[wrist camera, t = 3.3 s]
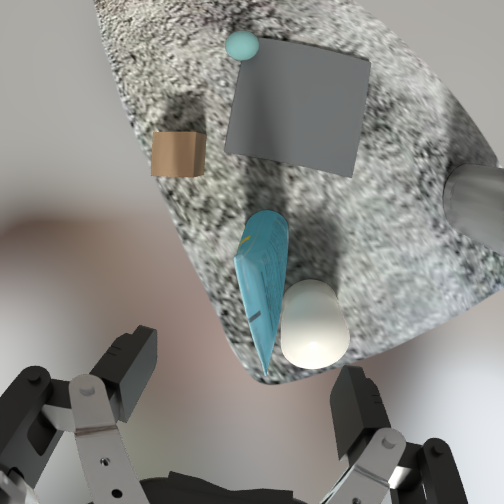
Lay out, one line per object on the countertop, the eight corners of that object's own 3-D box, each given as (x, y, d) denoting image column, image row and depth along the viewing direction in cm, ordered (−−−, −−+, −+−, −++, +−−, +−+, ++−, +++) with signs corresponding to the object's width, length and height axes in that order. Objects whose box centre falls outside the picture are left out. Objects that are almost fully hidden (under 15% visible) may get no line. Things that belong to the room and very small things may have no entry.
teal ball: (262, 39, 26) (260, 27, 22) (256, 66, 27) (254, 56, 24) (231, 36, 26) (226, 24, 22) (225, 62, 27) (219, 52, 24)
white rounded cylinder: (343, 284, 34) (359, 318, 27) (327, 332, 37) (337, 372, 29) (287, 274, 34) (289, 307, 27) (275, 324, 37) (274, 363, 29)
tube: (236, 206, 32) (186, 270, 14) (278, 194, 32) (282, 243, 13) (256, 267, 35) (235, 381, 16) (296, 256, 34) (315, 365, 16)
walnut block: (196, 131, 26) (153, 132, 26) (193, 177, 28) (150, 175, 28) (206, 135, 30) (168, 134, 31) (204, 174, 32) (166, 173, 32)
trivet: (369, 63, 26) (371, 62, 25) (350, 177, 30) (351, 178, 30) (247, 38, 26) (247, 36, 26) (225, 152, 31) (224, 152, 30)
